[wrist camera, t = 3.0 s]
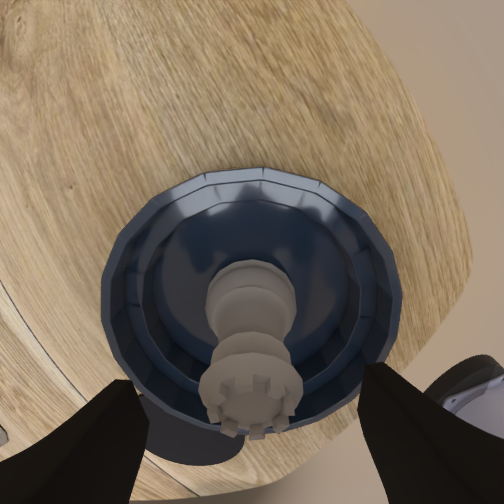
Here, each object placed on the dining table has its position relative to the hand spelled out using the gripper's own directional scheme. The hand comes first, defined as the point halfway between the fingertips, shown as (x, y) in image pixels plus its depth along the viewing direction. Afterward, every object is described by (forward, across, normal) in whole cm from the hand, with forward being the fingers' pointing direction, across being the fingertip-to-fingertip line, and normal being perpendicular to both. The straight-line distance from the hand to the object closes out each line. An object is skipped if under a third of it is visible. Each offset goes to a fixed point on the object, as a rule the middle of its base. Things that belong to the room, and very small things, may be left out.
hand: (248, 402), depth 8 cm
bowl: (+8, 0, 0) cm, 8 cm away
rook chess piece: (+8, 0, 0) cm, 8 cm away
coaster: (+8, +6, +11) cm, 15 cm away
